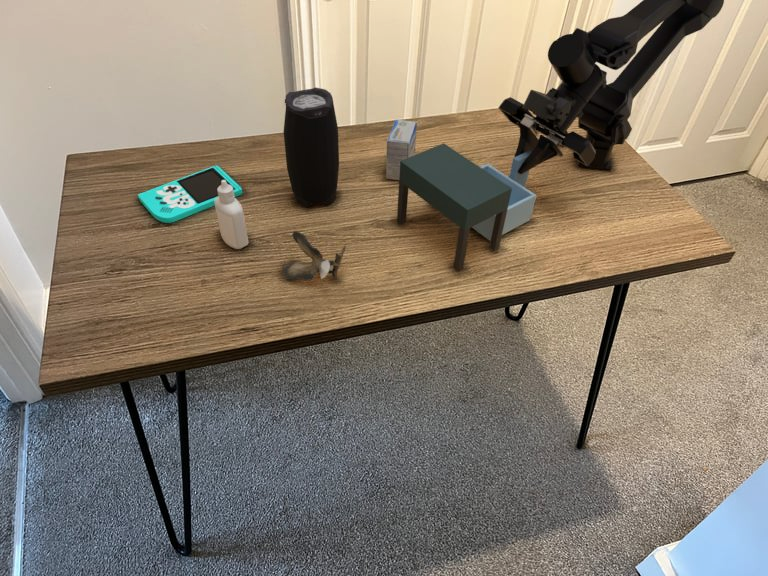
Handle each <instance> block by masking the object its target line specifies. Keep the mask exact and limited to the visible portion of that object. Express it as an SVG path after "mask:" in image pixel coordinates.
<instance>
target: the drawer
mask: <svg viewBox="0 0 768 576" xmlns="http://www.w3.org/2000/svg"><path fill="white" fill-rule="evenodd" d="M530 153H531V151H527V152H525V153H523V154H521V155H519V156H516V157H513V159H512V161H511V166H510V172H509V176H508V175H506V174H505V173H503V172H501V171H500V170H499V169H497V168H495V167H494V166H493V165H491V164H489V163H485V164H483V165H480V166H479V167H480V168H482V169H483V170H485V171H487V172H488V173H490V174H491V175H493V176H494V177H496V178H497V179H499V180H500V181H502V182H503V183H505V184H506V185H508V186H509V187H511V188H512V191H511V196H510V200H509V205H508V209H507V214H506V218H505V223H504V228H503V232H502V236H503V235H506V234H507V233H508V232H511V231H512V230H514V229H516V228H519V227H520V226H522V225H524V224H526V223H528V222H529V221H531V219H532V215H533V212H534V211H533V210H534V207H535V203H536V199H537V194H536V193H534V192H533V191H531V190H529V189H528V188H527V187H526V185H527V181H528V177H529V172H530V170H528V171H526V172H525V173H523V174H519V173H518V170H519V168H520V167H521V165H522V164H523V162H524V161H525V160H526V158H527V157H528V156H529V155H530ZM495 217H496V215H494V216H492V217H490V218H488V219H486V220H485V221H483V222H481V223H479V224H477V225H475V226H473V227H471V228H472V229H473V230H474V231H476V232H477V233H478V234H480V235H481V236H483V237H484V238H485V239H487V240H488V241H489V242H491V237H492V232H493V227H494V222H495Z"/></svg>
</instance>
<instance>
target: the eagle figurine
mask: <svg viewBox="0 0 768 576" xmlns="http://www.w3.org/2000/svg"><path fill="white" fill-rule="evenodd" d="M291 237H292V239H293V240H294V242H295V243H296V244H297V245H298V247H299V248H300V250H301V252H303V254H305V255H306V256H307V257H308V258H310V259H311V260H312V261H311V262H297V261H292V262H291V263H288V265H285V267H284V268H283V273H284V276H285V278H286V279H288V280H292V281H293V280H304V281H309V280H313V279H314V278H315V276H316V275H317V274H318V273H319V275H320V280H323V279H325V278H326V277H327V276H328V275H331V277H332V279H333V280H334V281H337V279H338V278H337V275H338V271H339V268H340V265H341V262H342V260H343V257H344V254H345V251H346V248H347V245H346V244H345V245H343V247H342V248H341V251H340V252H339V253H338V252H335V256H334V260H328V259H324V258H323V254H322V253H321V251H320V250H319V249H318V248H317V247H314V246H313V245H311V242H310V241H308V239H307V237H306V235H305V234H304V233H302V232H300V231H298V230H295V231H294V230H293V232H292V234H291ZM331 266H332V270H331Z"/></svg>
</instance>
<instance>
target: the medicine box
mask: <svg viewBox="0 0 768 576" xmlns="http://www.w3.org/2000/svg"><path fill="white" fill-rule="evenodd" d="M393 122H394V123H393V125H392V127H391V130H390V133H389V135H388V138H387V139H386V153H385V154H386V159H385V160H386V161H385V179H386V180H393V181H399V176H400V161H402V160H404V159H407V158H409V157H411V156H414V155H416V147H417V146H416V144H417V130H418V122H417V121H411V120H405V119H395V120H394V121H393Z"/></svg>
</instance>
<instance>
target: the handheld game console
mask: <svg viewBox="0 0 768 576" xmlns="http://www.w3.org/2000/svg"><path fill="white" fill-rule="evenodd" d="M222 180H226V182H227V184H229V185H231V186H232V187H233V190H234V196H235V198H236V197H239V196H241V195H243V194H244V193H243V188H242V187H241V186H240V185H239V184H238V183H237V182H236V181H235V180H234V179H233V178H232V177H231V176H230V175H229V174H228V173H226V172H225V170H223V169H222V168H221V167H220V166H219V165H213V166H211V167H208V168H205V169H202V170H199V171H197V172H194V173H191V174H189V175H186V176H184V177H181V178H178V179H176V180H173V181H170V182H168V183H165V184H162V185H159V186H157V187H154V188H151V189H149V190H146V191H143V192H141V193H138V194H137V197H138V200H139V202H140V203H141V204H142V205H143V206H144V207H145V209H146V210H147V211H148V213H150V215H151V216H152V217H153V218H154V219H155V220H157V221H159V222H161V223H163V224H172V223H174V222H177V221H179V220H182V219H184V218H187V217H191V216H193V215H194V214H197V213H200V212H202V211H205V210H207V209H210V208H212V207H215V203H214V201H215V199H216V198H217V197H219V196H218V191H217V189H218V187H219V186H220V185H221V181H222Z"/></svg>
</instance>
